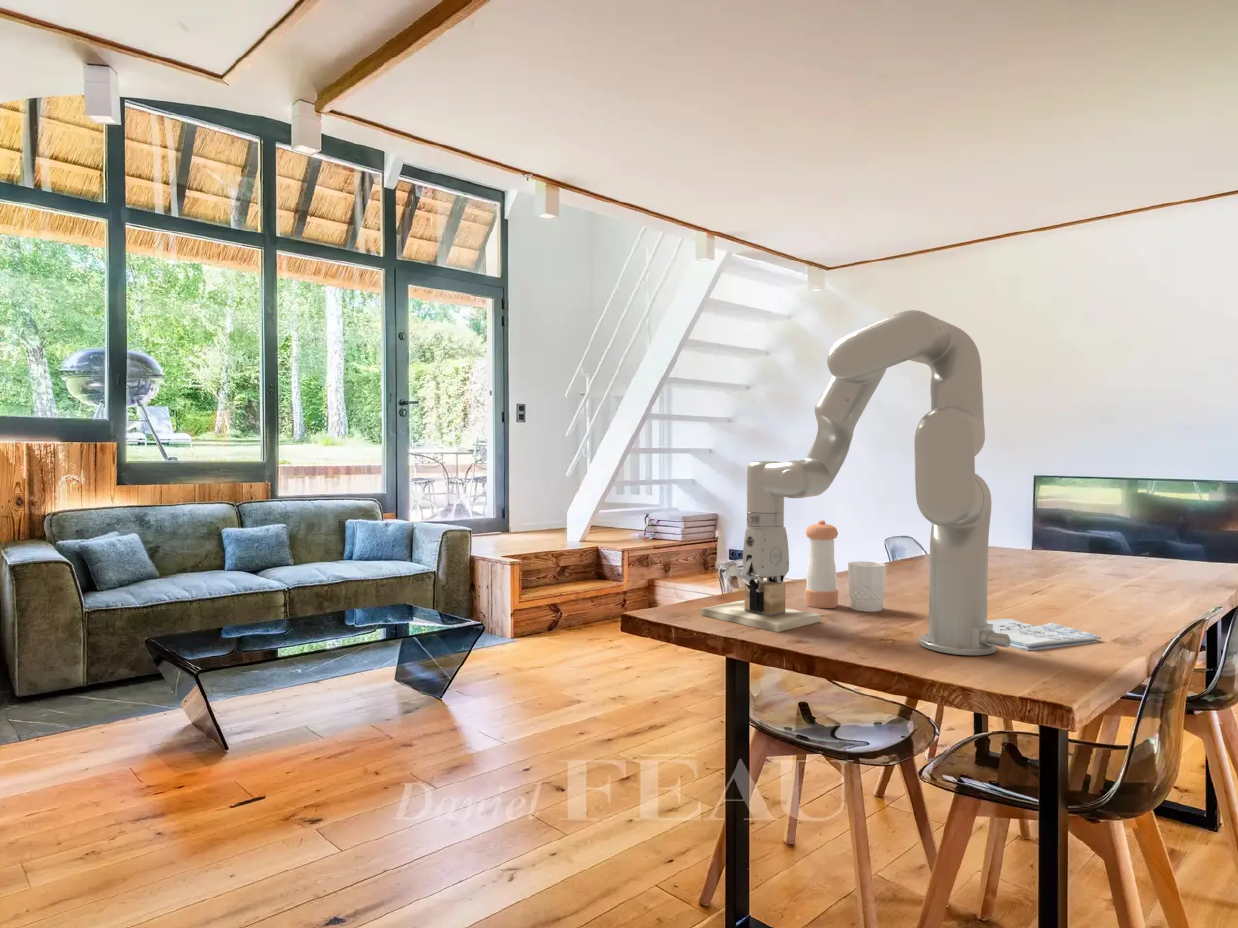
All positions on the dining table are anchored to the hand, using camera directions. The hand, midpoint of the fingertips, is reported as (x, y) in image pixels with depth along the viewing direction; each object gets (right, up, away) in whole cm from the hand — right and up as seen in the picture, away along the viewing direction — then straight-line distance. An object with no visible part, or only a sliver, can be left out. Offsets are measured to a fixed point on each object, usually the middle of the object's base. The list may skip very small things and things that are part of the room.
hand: (764, 608), depth 162 cm
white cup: (+25, -2, +11) cm, 27 cm away
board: (-1, -2, +1) cm, 3 cm away
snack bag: (+46, -4, -12) cm, 48 cm away
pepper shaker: (+16, -2, +16) cm, 22 cm away
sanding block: (0, -1, 0) cm, 1 cm away
